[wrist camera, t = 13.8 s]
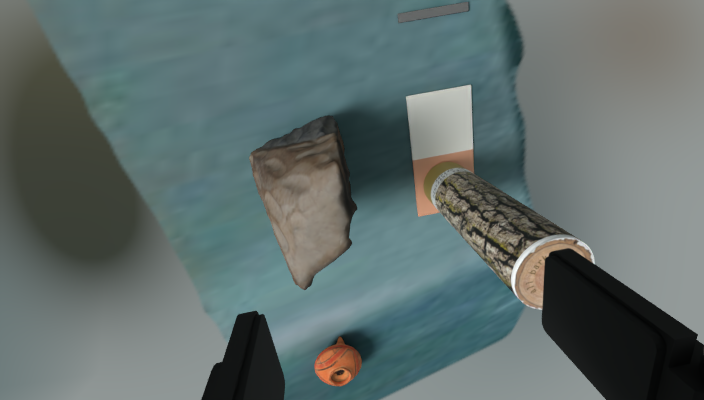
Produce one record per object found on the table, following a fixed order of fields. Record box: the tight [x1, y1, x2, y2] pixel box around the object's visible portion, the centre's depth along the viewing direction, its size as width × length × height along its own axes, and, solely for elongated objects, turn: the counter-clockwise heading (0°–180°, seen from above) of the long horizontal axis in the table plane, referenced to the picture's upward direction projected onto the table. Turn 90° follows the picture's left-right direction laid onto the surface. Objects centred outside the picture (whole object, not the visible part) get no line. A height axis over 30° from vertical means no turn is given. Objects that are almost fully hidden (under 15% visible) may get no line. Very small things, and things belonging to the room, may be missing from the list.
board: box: [398, 2, 474, 216], centre depth 48 cm, size 28×9×1 cm, turn 9°
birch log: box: [423, 162, 594, 309], centre depth 39 cm, size 7×7×25 cm
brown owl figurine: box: [249, 116, 357, 290], centre depth 39 cm, size 13×13×20 cm
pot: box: [315, 337, 362, 386], centre depth 58 cm, size 8×8×7 cm
